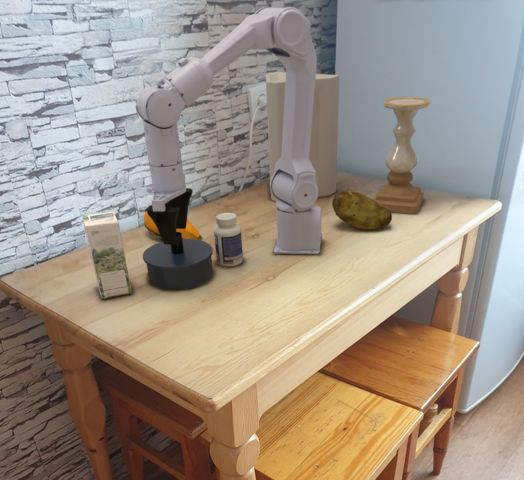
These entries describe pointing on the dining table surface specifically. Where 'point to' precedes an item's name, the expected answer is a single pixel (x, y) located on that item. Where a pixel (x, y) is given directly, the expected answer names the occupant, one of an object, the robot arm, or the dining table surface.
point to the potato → (361, 210)
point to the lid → (178, 253)
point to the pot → (181, 276)
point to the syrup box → (107, 254)
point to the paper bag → (321, 130)
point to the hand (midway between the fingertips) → (175, 235)
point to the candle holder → (402, 159)
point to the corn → (187, 233)
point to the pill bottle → (228, 240)
